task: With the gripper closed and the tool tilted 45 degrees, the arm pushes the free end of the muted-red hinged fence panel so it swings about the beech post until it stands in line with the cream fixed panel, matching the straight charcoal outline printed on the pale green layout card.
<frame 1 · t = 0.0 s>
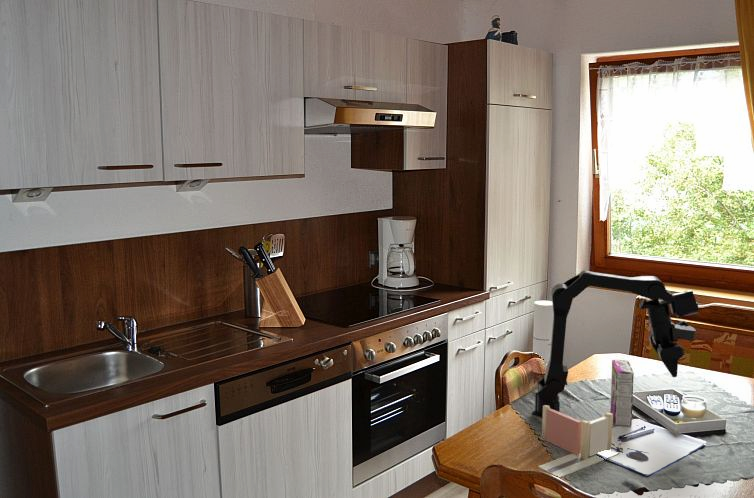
hand: (671, 371, 203), 15 cm above the table, tool pointing down, fingers open, 9 cm apart
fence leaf: (560, 429, 189), point 5 cm above the table, hinge at 0.0°
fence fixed: (584, 458, 183), resting on layout card
layout card: (579, 460, 182), on the table
candy bar box: (620, 419, 208), on the table
cylindrical container: (542, 372, 250), on the table
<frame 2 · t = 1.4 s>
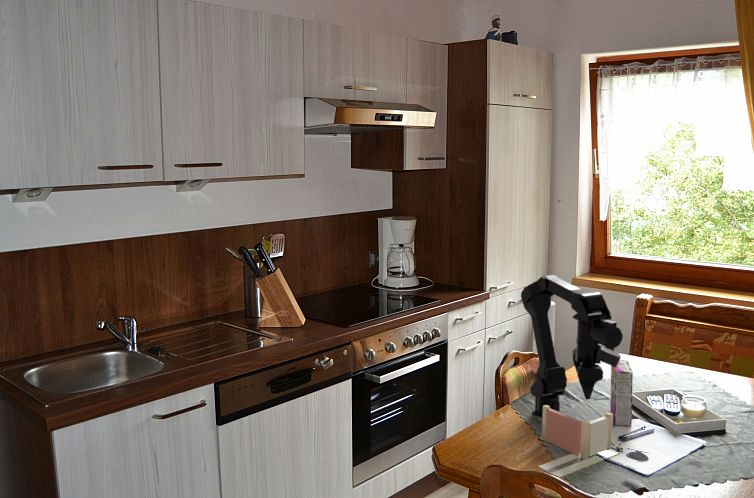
hand: (585, 393, 193), 13 cm above the table, tool pointing down, fingers open, 9 cm apart
nothing on the table moved.
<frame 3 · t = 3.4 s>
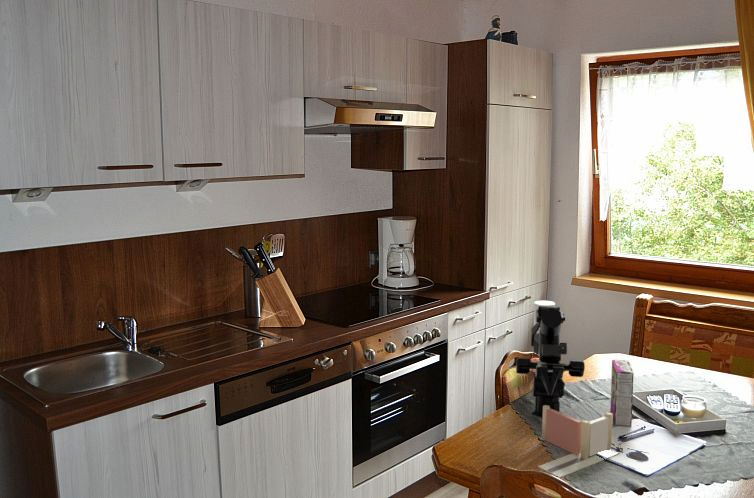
hand: (550, 394, 196), 12 cm above the table, tool tilted 45°, fingers closed
nothing on the table moved.
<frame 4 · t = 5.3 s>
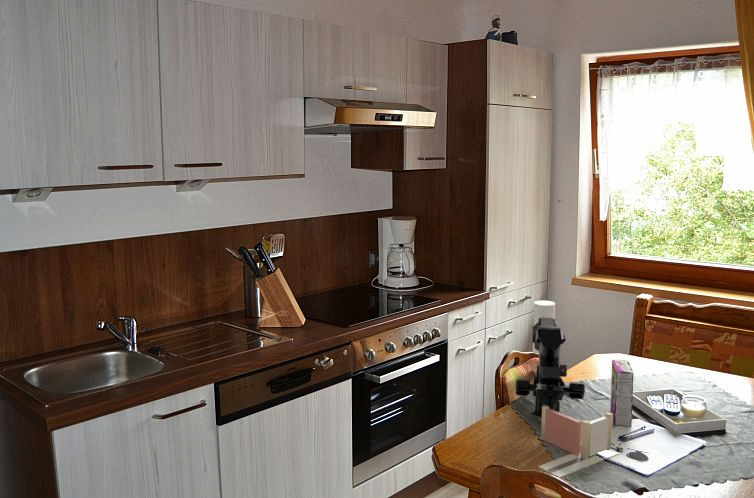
hand: (549, 417, 193), 6 cm above the table, tool tilted 45°, fingers closed
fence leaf: (560, 429, 189), point 5 cm above the table, hinge at 1.3°, touching gripper
everything else where it was.
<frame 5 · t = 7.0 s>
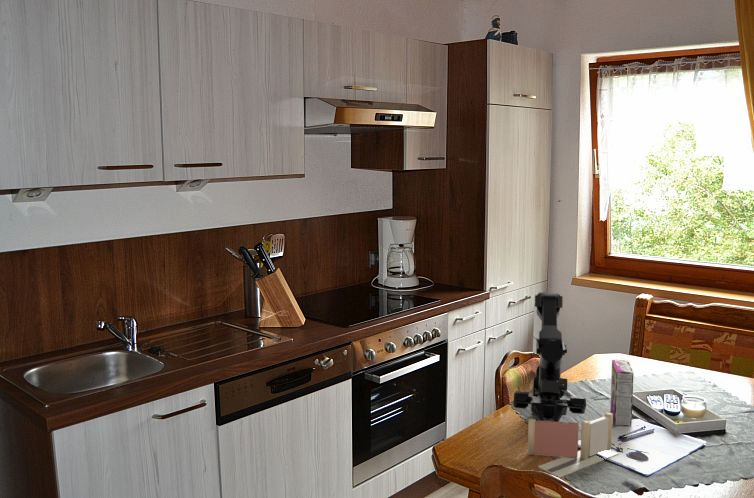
hand: (548, 433, 185), 6 cm above the table, tool tilted 45°, fingers closed
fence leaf: (552, 437, 184), point 5 cm above the table, hinge at 45.7°, touching gripper
everything else where it was.
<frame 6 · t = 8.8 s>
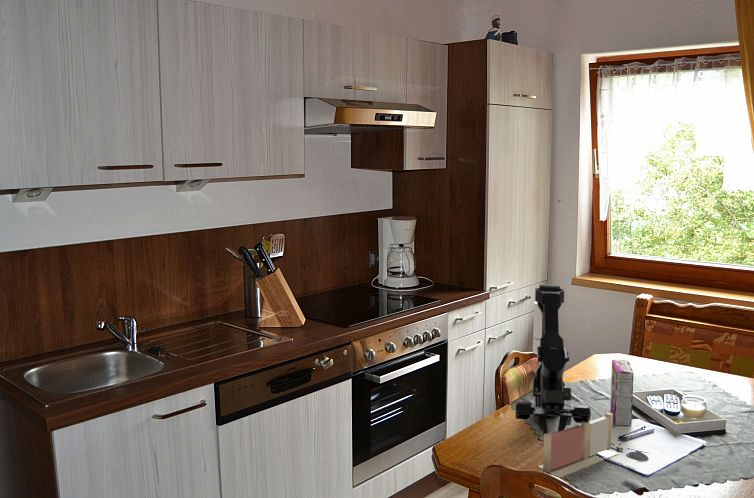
hand: (552, 444, 179), 6 cm above the table, tool tilted 45°, fingers closed
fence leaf: (562, 447, 178), point 5 cm above the table, hinge at 87.8°, touching gripper
everything else where it was.
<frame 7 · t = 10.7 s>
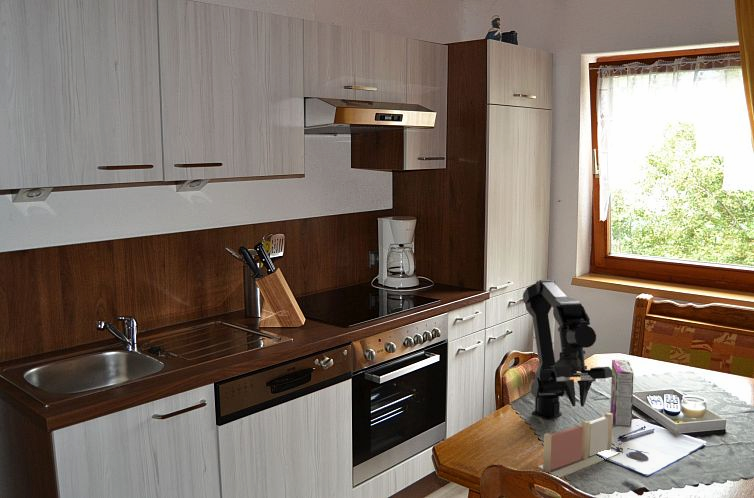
hand: (578, 406, 189), 11 cm above the table, tool tilted 15°, fingers closed
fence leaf: (562, 447, 178), point 5 cm above the table, hinge at 87.9°
everything else where it was.
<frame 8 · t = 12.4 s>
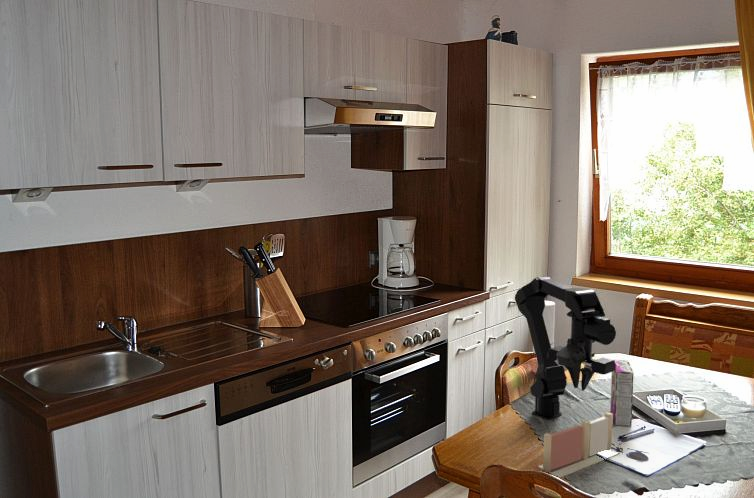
hand: (579, 389, 197), 13 cm above the table, tool pointing down, fingers closed
nothing on the table moved.
at the end: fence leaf at +88° (first picture: +0°); the gripper is holding nothing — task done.
